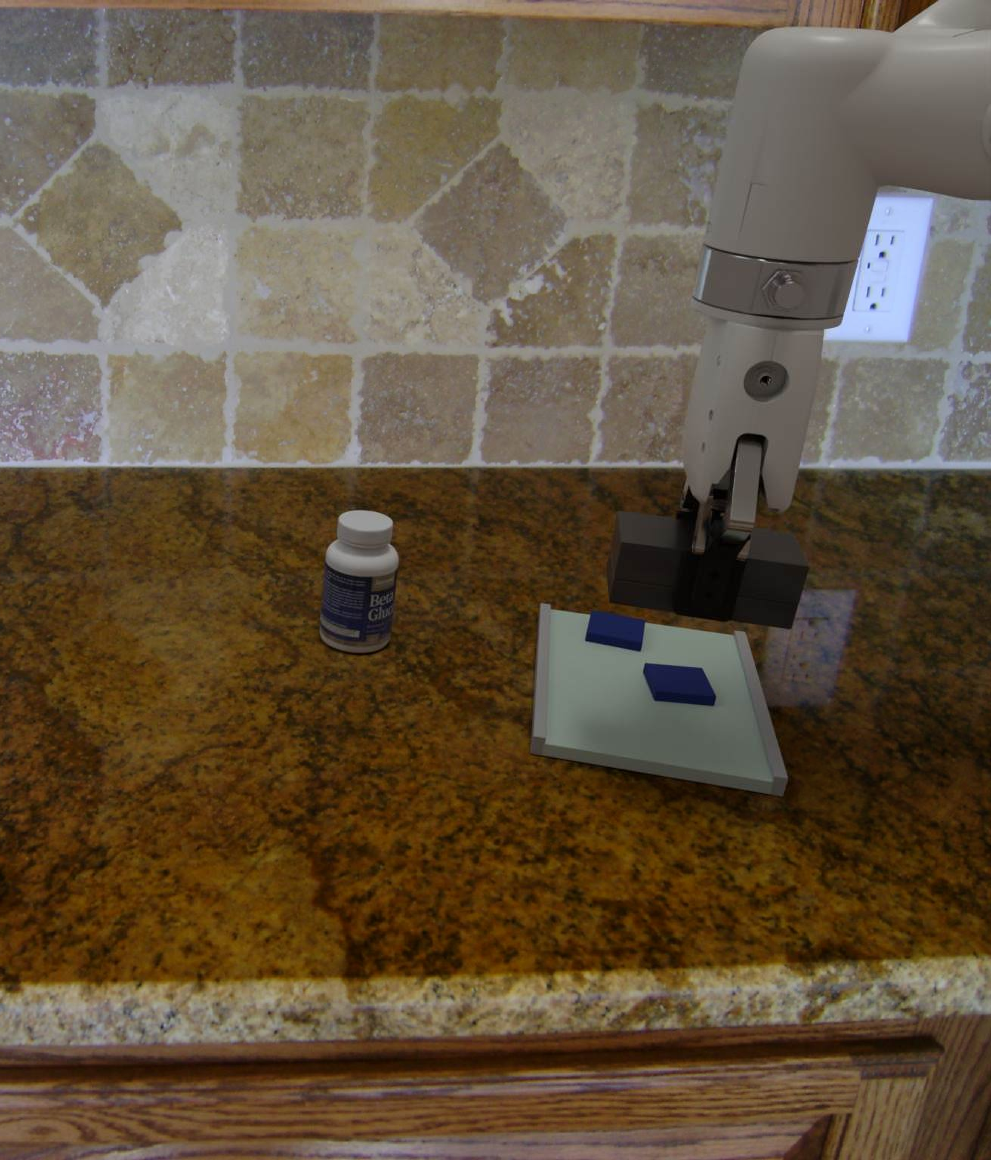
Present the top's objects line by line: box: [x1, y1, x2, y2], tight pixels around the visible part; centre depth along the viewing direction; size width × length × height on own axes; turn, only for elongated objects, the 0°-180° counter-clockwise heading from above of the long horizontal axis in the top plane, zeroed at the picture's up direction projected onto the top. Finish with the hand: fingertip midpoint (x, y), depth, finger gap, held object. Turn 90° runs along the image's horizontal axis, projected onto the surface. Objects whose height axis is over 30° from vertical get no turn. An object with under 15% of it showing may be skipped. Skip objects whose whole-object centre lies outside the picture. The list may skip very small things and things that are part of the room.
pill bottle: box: [319, 509, 400, 654], centre depth 87 cm, size 5×5×10 cm
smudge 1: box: [585, 609, 646, 651], centre depth 88 cm, size 4×4×1 cm
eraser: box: [605, 510, 810, 630], centre depth 68 cm, size 10×5×4 cm, turn 75°
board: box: [529, 602, 789, 798], centre depth 82 cm, size 15×20×1 cm
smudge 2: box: [643, 663, 716, 706], centre depth 81 cm, size 4×4×1 cm
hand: (696, 592), depth 69 cm, fingers closed on eraser, 5 cm apart
